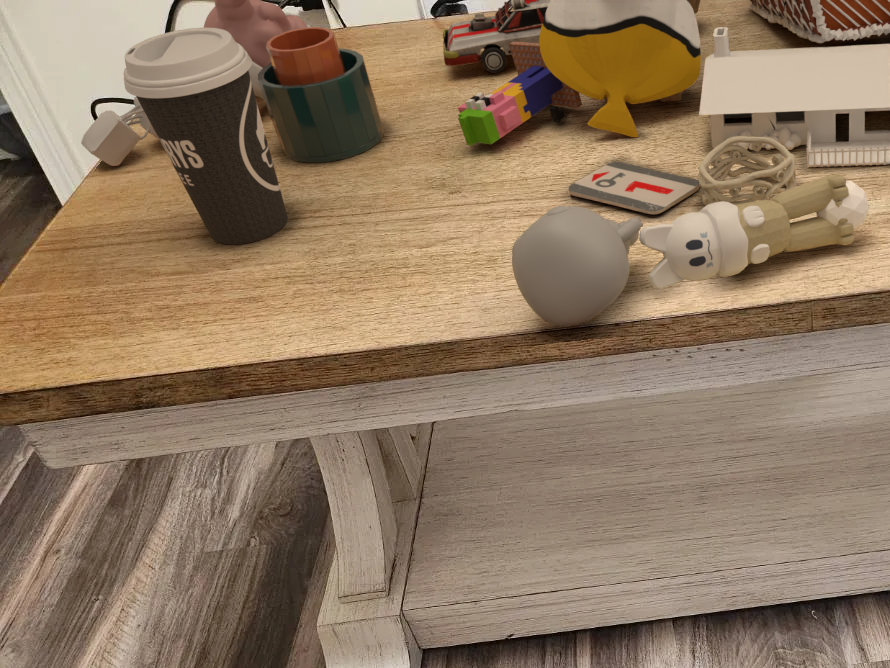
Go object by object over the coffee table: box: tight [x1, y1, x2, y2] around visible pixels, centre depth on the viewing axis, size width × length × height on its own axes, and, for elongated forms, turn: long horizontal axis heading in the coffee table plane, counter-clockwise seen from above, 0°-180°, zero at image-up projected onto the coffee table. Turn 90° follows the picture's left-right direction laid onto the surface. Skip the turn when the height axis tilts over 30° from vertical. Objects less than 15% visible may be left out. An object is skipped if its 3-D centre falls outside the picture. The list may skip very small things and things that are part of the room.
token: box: [568, 161, 701, 215], centre depth 95 cm, size 7×1×10 cm
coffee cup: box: [123, 27, 289, 245], centre depth 90 cm, size 10×10×15 cm
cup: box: [266, 26, 346, 86], centre depth 104 cm, size 6×6×9 cm
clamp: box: [80, 61, 265, 167], centre depth 109 cm, size 20×4×7 cm, turn 129°
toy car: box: [442, 0, 550, 74], centre depth 117 cm, size 8×18×8 cm, turn 101°
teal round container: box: [257, 48, 385, 164], centre depth 105 cm, size 10×10×7 cm
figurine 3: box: [511, 205, 644, 327], centre depth 80 cm, size 8×8×12 cm
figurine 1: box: [203, 0, 309, 68], centre depth 115 cm, size 9×11×12 cm
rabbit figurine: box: [638, 174, 870, 290], centre depth 84 cm, size 5×10×18 cm
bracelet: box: [697, 136, 798, 206], centre depth 91 cm, size 4×8×8 cm
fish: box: [539, 0, 702, 138], centre depth 103 cm, size 20×12×15 cm
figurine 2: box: [457, 42, 583, 146], centre depth 104 cm, size 7×6×12 cm
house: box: [698, 26, 890, 168], centre depth 99 cm, size 25×24×7 cm
